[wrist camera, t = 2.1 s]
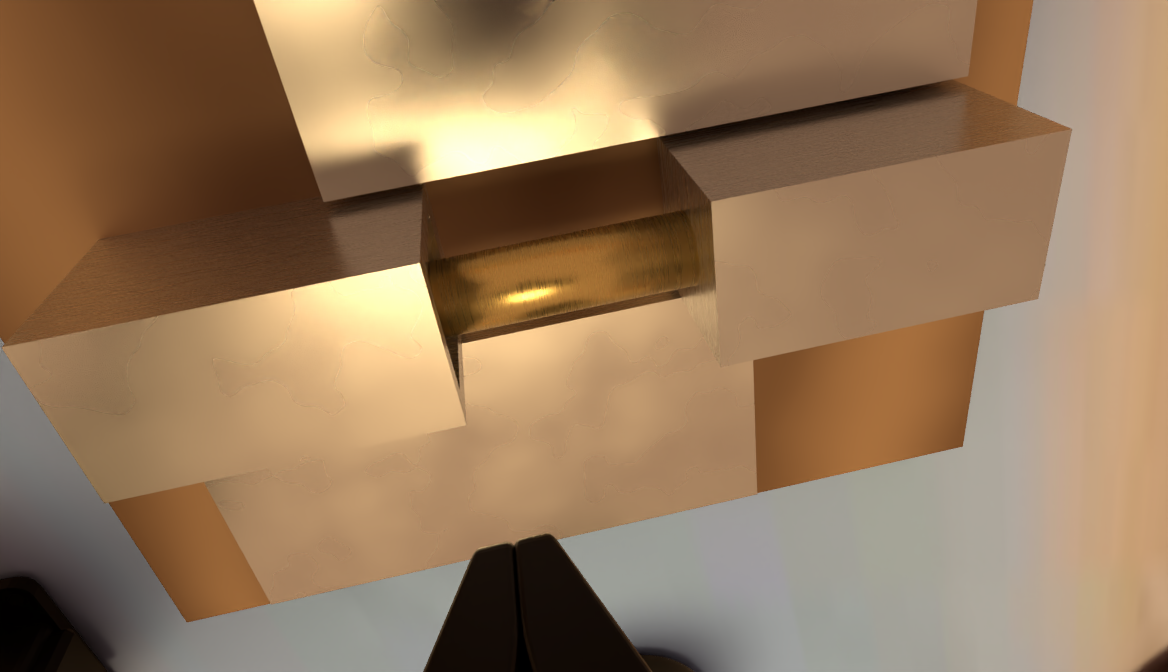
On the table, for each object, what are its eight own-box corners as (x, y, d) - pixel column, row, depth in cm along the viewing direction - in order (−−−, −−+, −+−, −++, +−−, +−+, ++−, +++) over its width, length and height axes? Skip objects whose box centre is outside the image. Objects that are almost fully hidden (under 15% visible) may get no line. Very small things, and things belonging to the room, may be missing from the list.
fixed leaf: (277, 576, 22) (245, 718, 19) (99, 239, 17) (0, 347, 13) (745, 471, 23) (804, 586, 19) (731, 115, 17) (811, 184, 14)
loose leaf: (378, 338, 19) (365, 443, 15) (192, -207, 13) (104, -234, 9) (933, 223, 19) (1037, 298, 16) (994, -336, 14) (1177, -402, 10)
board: (197, 589, 24) (186, 622, 23) (-290, -196, 13) (-351, -200, 12) (941, 423, 25) (962, 446, 24) (1054, -405, 14) (1100, -425, 13)
